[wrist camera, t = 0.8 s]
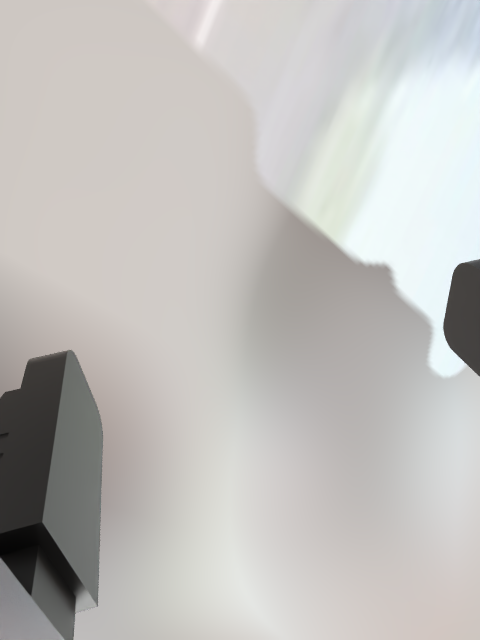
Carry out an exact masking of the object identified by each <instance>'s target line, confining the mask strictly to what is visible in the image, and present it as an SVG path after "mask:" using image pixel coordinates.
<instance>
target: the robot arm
mask: <svg viewBox="0 0 480 640" xmlns="http://www.w3.org/2000/svg"><path fill="white" fill-rule="evenodd" d="M443 329H444V335H445V338H446V341H447V343H448V345H449V346H450V348H451V349H452V350H453V351H454V352H455V353H456V354H457V355H458V356H459V357H460V358H461V359H462V360H463V361H464V362H465V363H466V364H467V365H468V366H469V367H470V368H471V369H472V370H473V371H474V372H475V373H477V374H478V375H479V376H480V259H479V260H474V261H470V262H465V263H461V264H459V265H458V266H457V267H456V268H455V270H454V272H453V276H452V281H451V287H450V292H449V297H448V302H447V308H446V313H445V318H444V325H443ZM102 448H103V431H102V423H101V419H100V414H99V411H98V408H97V405H96V403H95V400H94V398H93V395H92V393H91V390H90V388H89V386H88V383H87V381H86V379H85V376H84V374H83V371H82V369H81V366H80V364H79V362H78V359H77V357H76V355H75V354H74V352H73V351H71V350H68V351H63V352H59V353H54V354H50V355H45V356H41V357H36V358H32V359H30V360H29V361H28V363H27V366H26V369H25V373H24V377H23V381H22V385H21V388H20V389H17V390H13V391H8V392H5V393H4V394H3V395H2V397H1V398H0V640H73V636H74V622H75V613H78V612H81V611H85V610H88V609H91V608H95V607H97V606H98V580H99V547H100V513H101V481H102Z"/></svg>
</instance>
